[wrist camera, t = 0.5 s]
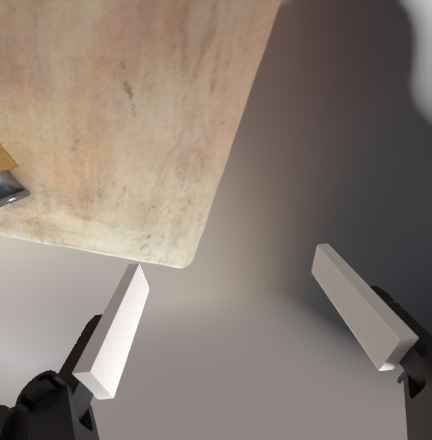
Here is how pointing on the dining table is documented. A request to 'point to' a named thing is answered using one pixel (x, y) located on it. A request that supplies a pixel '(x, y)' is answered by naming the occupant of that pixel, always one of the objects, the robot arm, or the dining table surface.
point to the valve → (9, 182)
